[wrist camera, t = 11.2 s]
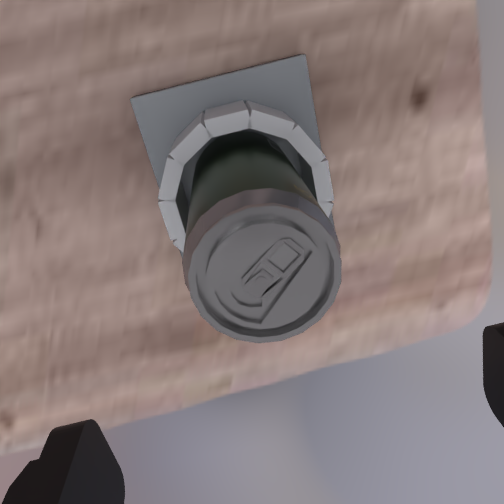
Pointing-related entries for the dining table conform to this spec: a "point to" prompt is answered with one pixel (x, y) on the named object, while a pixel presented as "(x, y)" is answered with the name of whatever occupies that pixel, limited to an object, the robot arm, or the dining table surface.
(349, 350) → the dining table surface
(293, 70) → the flanged pipe fitting
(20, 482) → the robot arm
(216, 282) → the beer can
